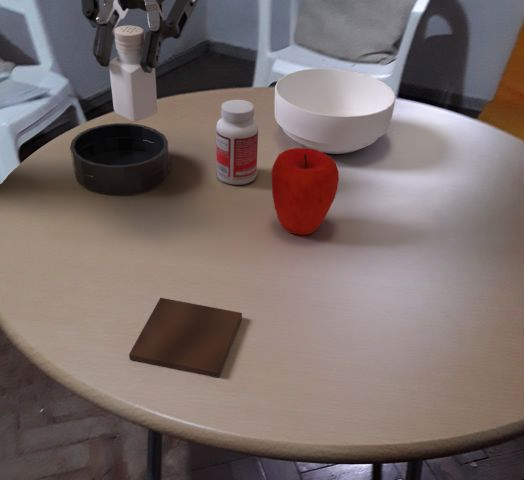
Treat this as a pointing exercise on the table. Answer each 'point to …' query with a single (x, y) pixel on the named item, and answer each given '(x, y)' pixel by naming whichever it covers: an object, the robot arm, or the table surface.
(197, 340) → the coaster
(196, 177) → the table surface
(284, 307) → the table surface
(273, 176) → the apple
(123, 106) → the salt shaker
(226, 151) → the pill bottle
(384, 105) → the bowl
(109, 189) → the pan
